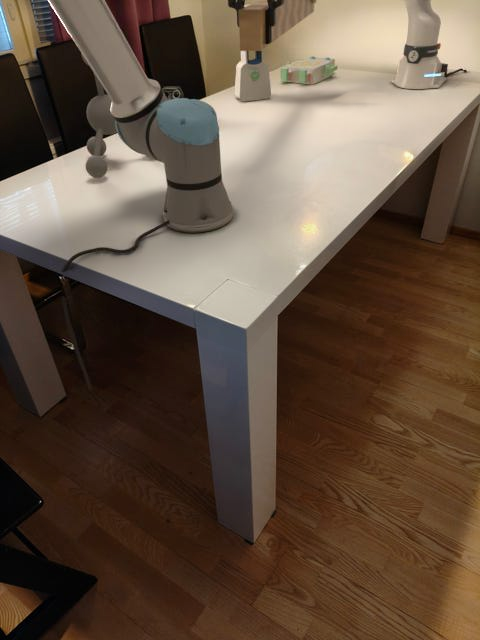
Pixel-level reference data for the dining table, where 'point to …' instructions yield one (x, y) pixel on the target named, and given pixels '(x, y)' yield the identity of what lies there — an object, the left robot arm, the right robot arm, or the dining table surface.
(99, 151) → the molecular model
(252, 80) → the electronic device
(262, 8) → the post
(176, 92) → the grenade
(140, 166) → the dining table surface
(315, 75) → the white green flat box
